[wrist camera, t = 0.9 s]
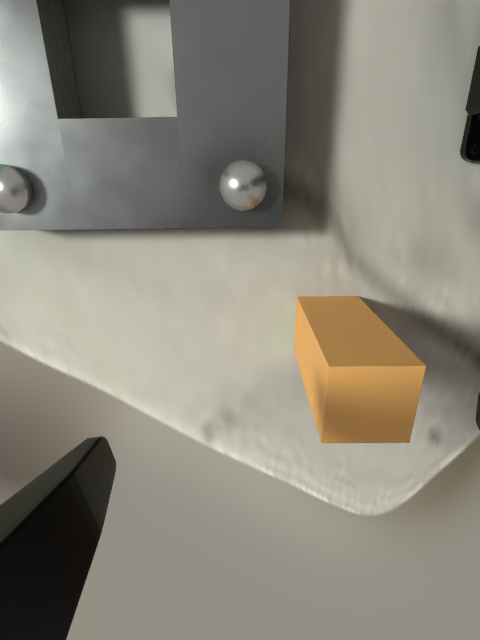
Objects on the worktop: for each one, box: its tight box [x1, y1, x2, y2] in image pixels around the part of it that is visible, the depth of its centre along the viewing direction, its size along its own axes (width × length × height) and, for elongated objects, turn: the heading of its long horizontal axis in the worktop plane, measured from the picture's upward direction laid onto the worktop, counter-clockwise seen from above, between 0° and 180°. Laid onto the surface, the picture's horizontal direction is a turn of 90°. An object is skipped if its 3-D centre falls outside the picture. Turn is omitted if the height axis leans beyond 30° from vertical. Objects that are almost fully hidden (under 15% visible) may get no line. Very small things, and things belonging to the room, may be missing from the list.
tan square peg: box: [294, 296, 426, 443], centre depth 17 cm, size 4×4×8 cm
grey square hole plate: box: [0, 0, 290, 230], centre depth 14 cm, size 14×14×3 cm
